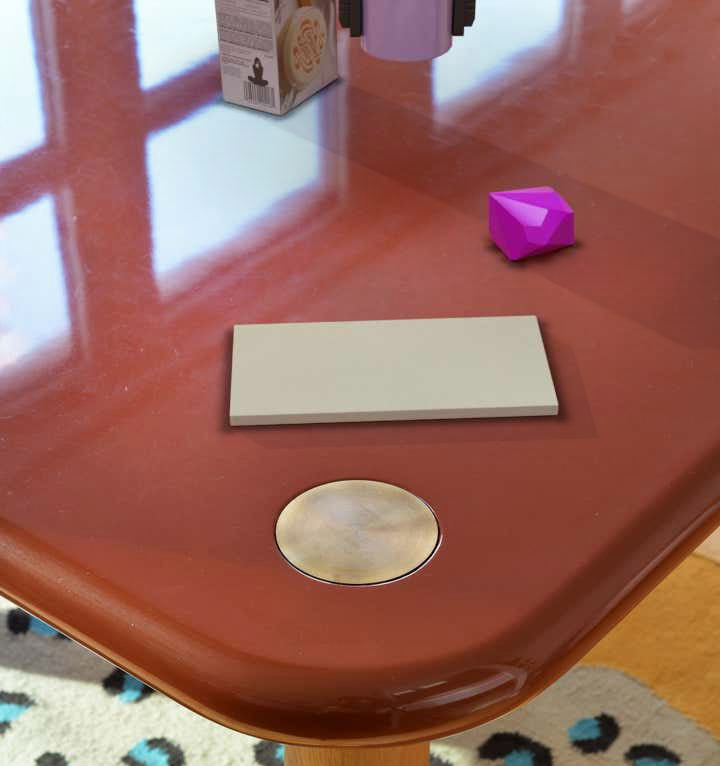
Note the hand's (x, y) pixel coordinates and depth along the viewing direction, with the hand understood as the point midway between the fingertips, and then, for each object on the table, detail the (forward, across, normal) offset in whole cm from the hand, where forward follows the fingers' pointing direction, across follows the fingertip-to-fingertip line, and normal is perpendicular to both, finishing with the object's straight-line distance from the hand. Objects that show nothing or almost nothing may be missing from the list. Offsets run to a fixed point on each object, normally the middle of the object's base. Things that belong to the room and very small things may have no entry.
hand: (406, 31), depth 88 cm
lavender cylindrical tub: (+1, 0, 0) cm, 1 cm away
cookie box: (+16, -10, +27) cm, 33 cm away
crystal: (+16, +9, -1) cm, 18 cm away
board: (+16, -2, -16) cm, 22 cm away
